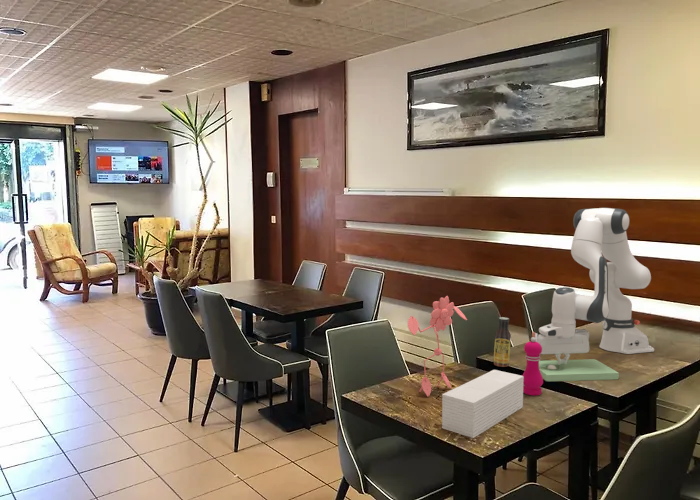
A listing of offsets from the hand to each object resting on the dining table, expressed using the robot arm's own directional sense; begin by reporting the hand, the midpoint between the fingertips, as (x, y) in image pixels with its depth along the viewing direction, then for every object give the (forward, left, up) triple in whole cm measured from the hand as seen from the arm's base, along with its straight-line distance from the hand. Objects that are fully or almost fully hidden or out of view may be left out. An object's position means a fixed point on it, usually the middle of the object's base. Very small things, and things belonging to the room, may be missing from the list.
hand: (562, 364), depth 220 cm
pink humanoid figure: (+52, +19, -4) cm, 55 cm away
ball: (+4, 0, -2) cm, 5 cm away
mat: (-4, 0, -4) cm, 5 cm away
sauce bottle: (+20, -12, -4) cm, 24 cm away
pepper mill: (+20, +20, -4) cm, 29 cm away
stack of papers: (+43, +40, -4) cm, 59 cm away
